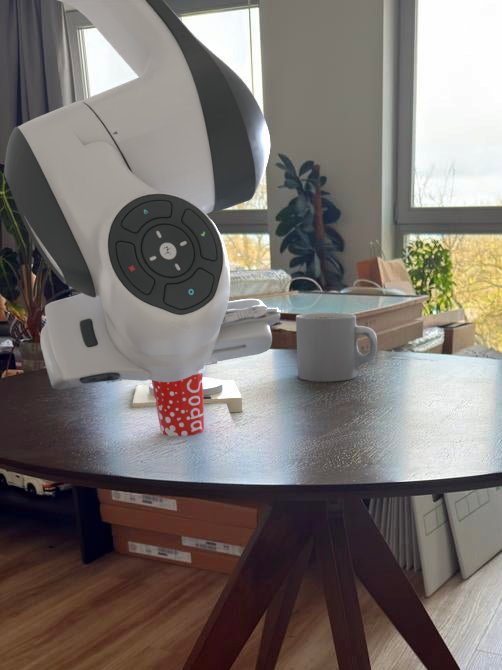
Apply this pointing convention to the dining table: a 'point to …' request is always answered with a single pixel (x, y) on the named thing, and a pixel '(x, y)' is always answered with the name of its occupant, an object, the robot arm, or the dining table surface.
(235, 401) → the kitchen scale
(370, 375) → the dining table surface
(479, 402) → the dining table surface
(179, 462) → the dining table surface
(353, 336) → the coffee mug
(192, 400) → the beverage cup
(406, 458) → the dining table surface
